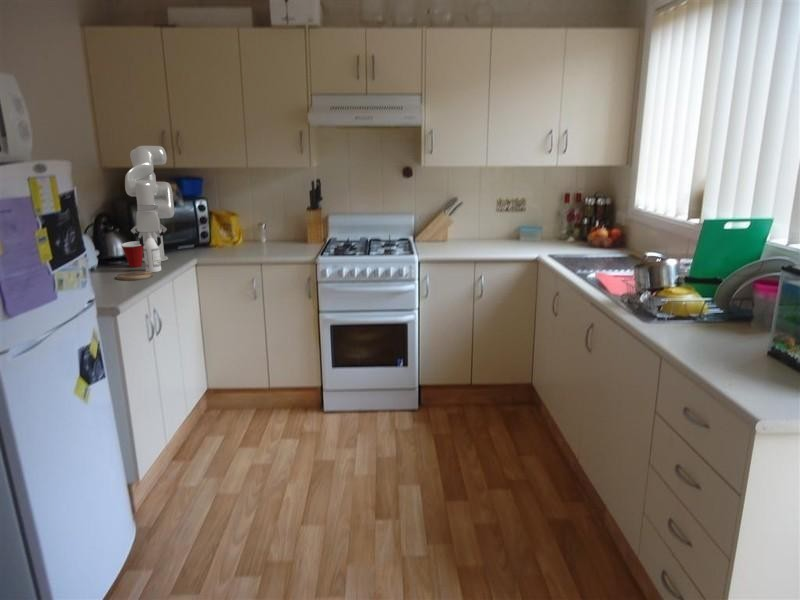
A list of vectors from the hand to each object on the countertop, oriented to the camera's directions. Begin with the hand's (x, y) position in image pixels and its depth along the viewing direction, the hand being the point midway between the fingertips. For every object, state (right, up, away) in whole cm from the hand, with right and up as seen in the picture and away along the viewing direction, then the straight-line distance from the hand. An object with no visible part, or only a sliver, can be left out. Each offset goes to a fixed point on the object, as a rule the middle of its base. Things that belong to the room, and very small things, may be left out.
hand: (150, 245), depth 265 cm
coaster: (-3, -16, -9) cm, 18 cm away
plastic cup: (-14, -10, +13) cm, 22 cm away
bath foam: (0, -12, +3) cm, 13 cm away
